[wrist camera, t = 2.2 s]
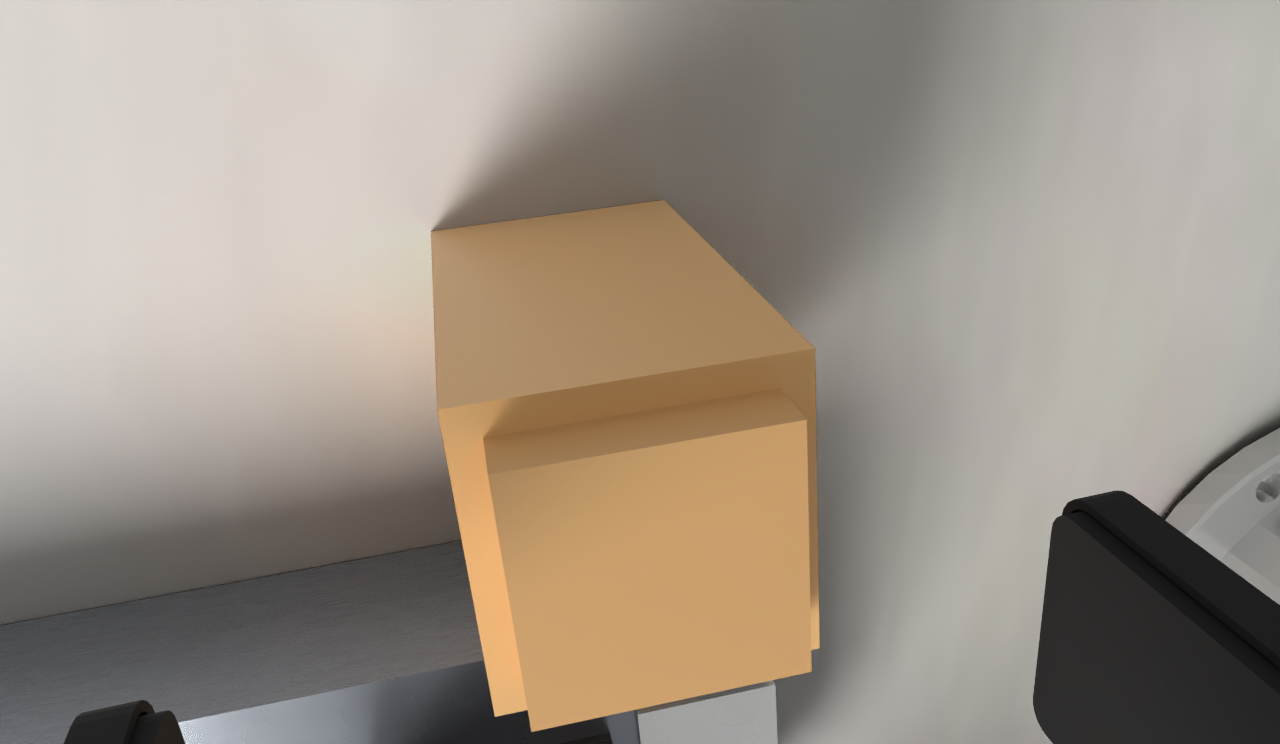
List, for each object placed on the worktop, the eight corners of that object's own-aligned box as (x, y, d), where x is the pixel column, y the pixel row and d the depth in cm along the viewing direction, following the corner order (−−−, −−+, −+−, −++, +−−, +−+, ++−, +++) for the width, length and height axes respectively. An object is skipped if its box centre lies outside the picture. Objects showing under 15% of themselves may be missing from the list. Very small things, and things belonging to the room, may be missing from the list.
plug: (664, 199, 21) (844, 376, 12) (680, 407, 23) (844, 691, 14) (430, 231, 20) (438, 445, 11) (468, 443, 22) (499, 767, 13)
